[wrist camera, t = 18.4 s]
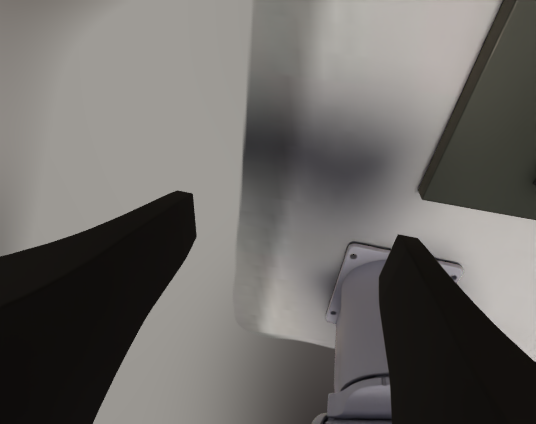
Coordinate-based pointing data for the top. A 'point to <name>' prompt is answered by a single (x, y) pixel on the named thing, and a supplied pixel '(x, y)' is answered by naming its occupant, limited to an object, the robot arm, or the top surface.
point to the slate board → (493, 125)
